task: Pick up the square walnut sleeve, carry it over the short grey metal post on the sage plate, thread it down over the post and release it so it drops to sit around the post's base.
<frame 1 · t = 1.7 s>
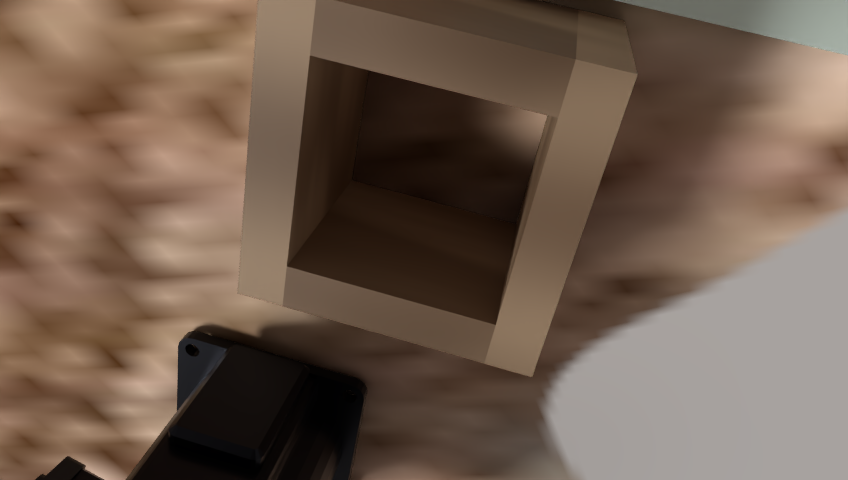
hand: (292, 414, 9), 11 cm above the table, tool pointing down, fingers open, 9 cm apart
walnut sleeve: (450, 122, 19), on the table
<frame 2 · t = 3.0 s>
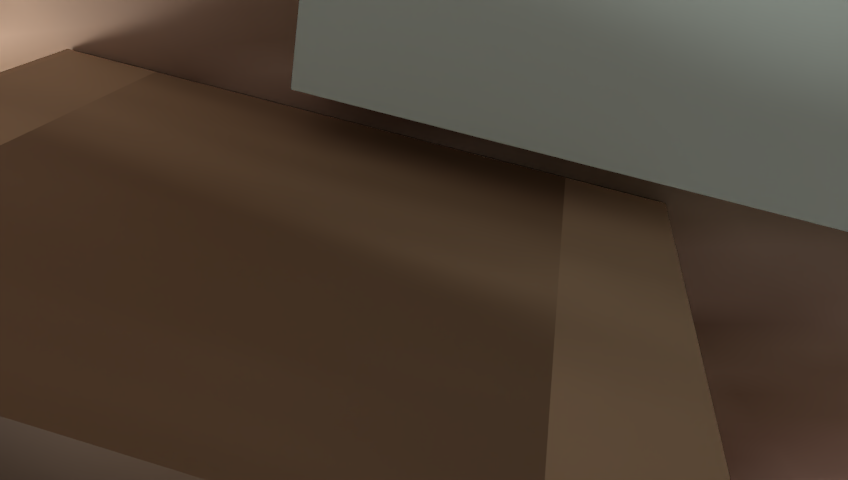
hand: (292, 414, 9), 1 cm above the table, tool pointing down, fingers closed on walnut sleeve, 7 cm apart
walnut sleeve: (319, 362, 10), on the table, touching gripper
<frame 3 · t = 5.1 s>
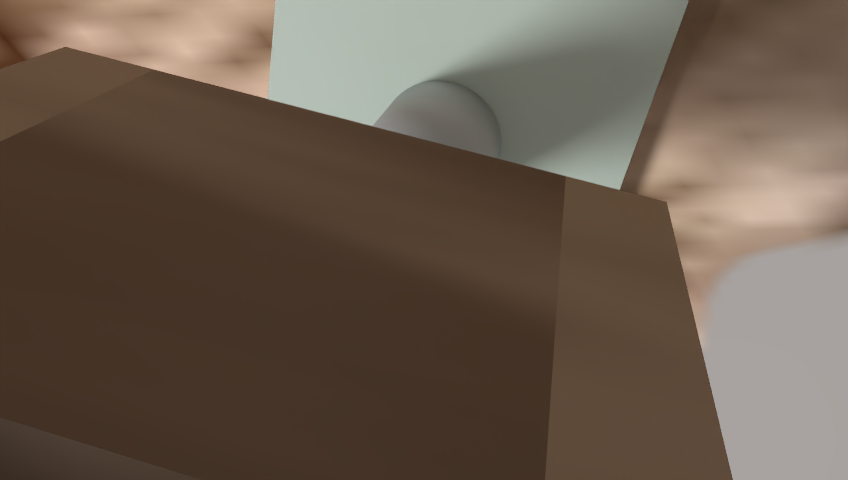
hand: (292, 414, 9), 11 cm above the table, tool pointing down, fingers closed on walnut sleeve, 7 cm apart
walnut sleeve: (319, 361, 10), point 10 cm above the table, touching gripper
post block: (446, 130, 18), on the table
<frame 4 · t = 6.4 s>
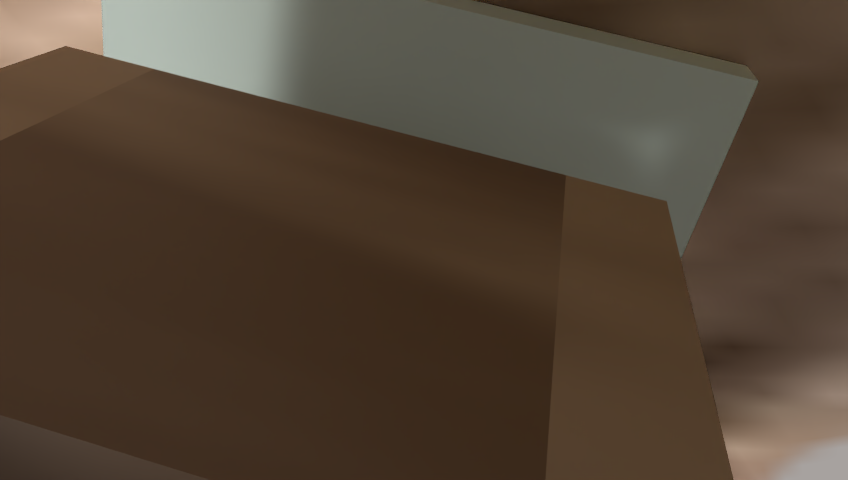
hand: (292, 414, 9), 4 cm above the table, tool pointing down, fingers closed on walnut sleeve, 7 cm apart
walnut sleeve: (319, 361, 10), point 3 cm above the table, touching gripper
post block: (377, 256, 12), on the table
when the fingers open (4 cm above the table, at t = 7.2 s): walnut sleeve drops 2 cm, resting on post block.
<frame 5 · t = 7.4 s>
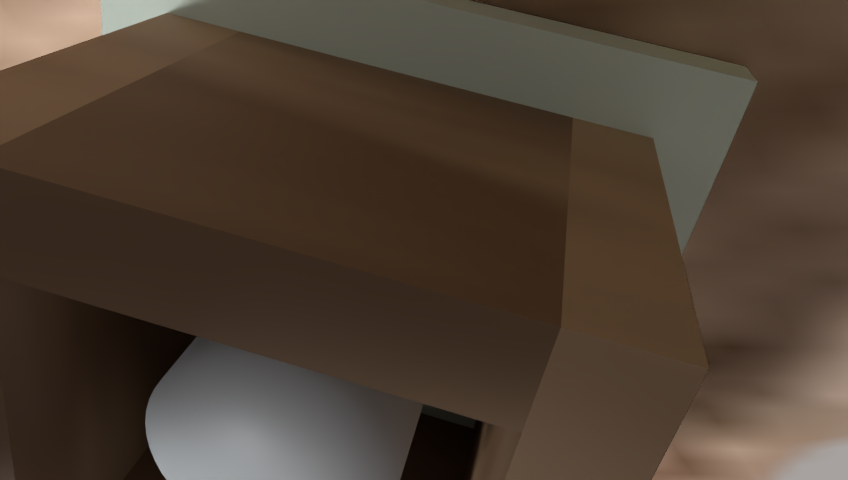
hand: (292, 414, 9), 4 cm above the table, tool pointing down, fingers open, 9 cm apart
walnut sleeve: (364, 280, 11), point 1 cm above the table, touching post block
post block: (377, 257, 12), on the table
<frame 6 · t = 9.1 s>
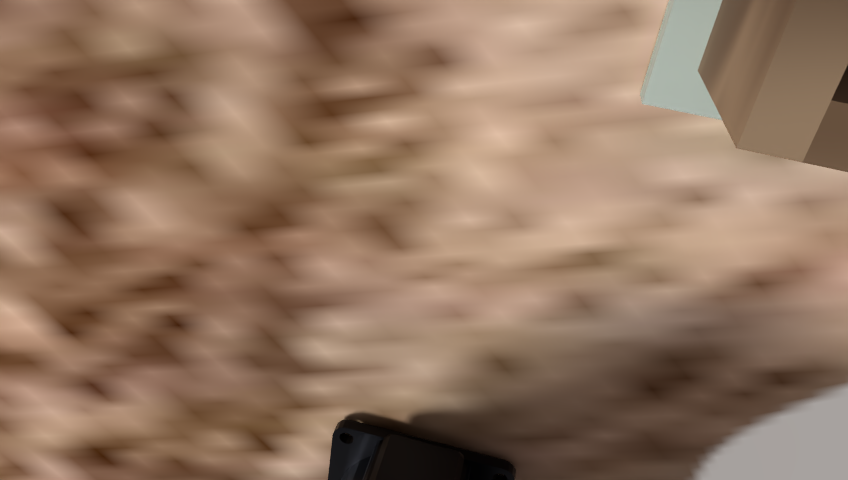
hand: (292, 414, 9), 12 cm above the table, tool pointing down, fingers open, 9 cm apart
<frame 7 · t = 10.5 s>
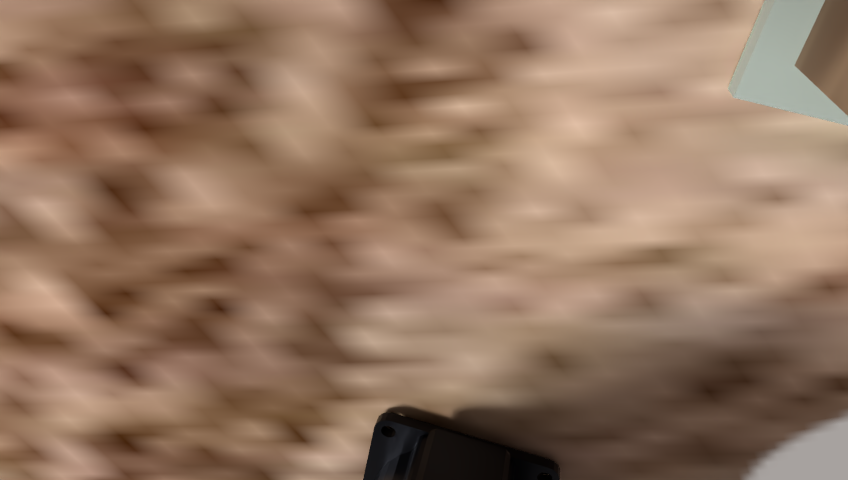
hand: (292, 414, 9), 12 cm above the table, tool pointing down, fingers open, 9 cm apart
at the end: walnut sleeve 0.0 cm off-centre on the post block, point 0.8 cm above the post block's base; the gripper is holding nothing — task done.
